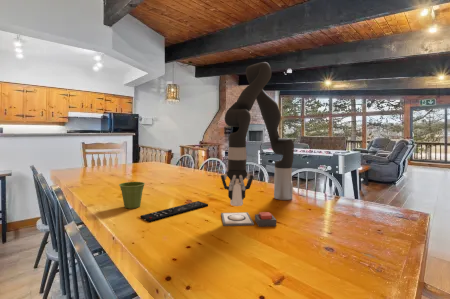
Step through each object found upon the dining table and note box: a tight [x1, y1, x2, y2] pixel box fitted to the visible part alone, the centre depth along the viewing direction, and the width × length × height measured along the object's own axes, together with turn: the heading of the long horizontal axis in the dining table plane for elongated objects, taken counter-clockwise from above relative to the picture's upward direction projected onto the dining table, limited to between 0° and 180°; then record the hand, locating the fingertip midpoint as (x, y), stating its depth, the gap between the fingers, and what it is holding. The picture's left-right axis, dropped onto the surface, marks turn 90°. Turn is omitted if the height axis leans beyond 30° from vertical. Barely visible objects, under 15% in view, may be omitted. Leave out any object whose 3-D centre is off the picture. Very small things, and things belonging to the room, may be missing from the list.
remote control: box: [140, 200, 209, 223], centre depth 115 cm, size 8×32×2 cm, turn 137°
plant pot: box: [118, 181, 146, 209], centre depth 122 cm, size 12×12×11 cm
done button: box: [258, 211, 273, 219], centre depth 101 cm, size 4×4×2 cm
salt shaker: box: [229, 179, 244, 207], centre depth 105 cm, size 5×5×11 cm
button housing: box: [254, 213, 277, 228], centre depth 102 cm, size 7×7×2 cm
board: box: [220, 211, 255, 227], centre depth 106 cm, size 12×14×1 cm
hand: (236, 198), depth 105 cm, fingers closed on salt shaker, 4 cm apart
